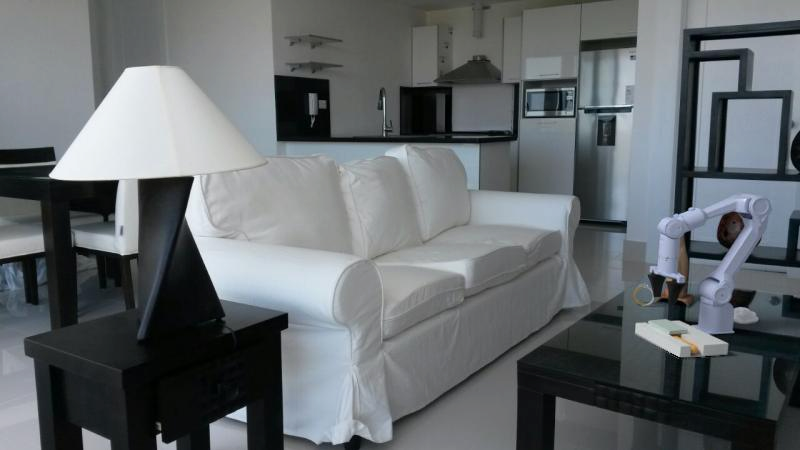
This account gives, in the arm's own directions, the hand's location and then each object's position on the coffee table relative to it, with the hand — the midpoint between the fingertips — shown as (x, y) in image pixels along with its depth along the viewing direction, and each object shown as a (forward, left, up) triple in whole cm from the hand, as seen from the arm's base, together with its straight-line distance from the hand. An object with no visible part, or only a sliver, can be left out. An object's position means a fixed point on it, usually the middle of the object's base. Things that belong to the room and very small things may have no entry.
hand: (664, 300), depth 197 cm
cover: (+5, +9, -6) cm, 12 cm away
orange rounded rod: (+6, +17, -8) cm, 20 cm away
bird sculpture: (-25, -28, -10) cm, 39 cm away
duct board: (+4, +13, -9) cm, 16 cm away
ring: (-10, -25, -10) cm, 29 cm away
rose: (-33, -5, -10) cm, 35 cm away
